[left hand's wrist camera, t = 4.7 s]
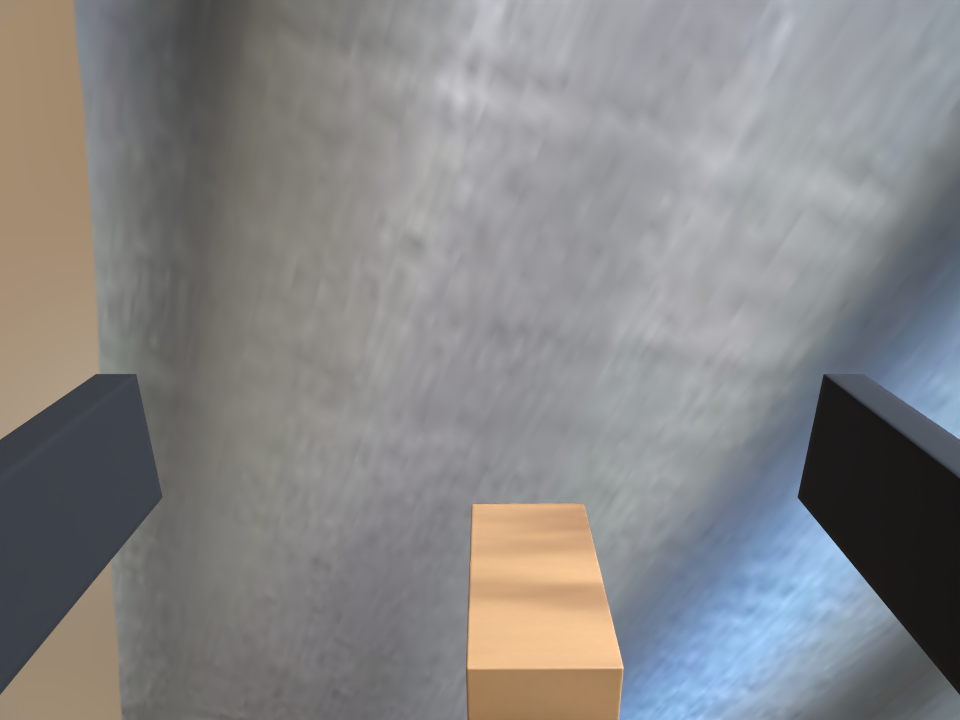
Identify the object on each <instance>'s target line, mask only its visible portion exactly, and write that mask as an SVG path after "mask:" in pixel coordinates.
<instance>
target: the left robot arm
mask: <svg viewBox="0 0 960 720" xmlns="http://www.w3.org/2000/svg"><path fill="white" fill-rule="evenodd" d="M161 498H162V494H161V489H160V484H159V479H158V475H157V470H156V465H155V460H154V456H153V451H152V446H151V442H150V437H149V432H148V427H147V423H146V418H145V413H144V409H143V404H142V399H141V394H140V390H139V385H138V380H137V376H136V374H96V375H94V376H93V377H91V378H90V379H88V380H87V381H85V382H84V383H83V384H81V385H80V386H78V387H77V388H75V389H74V390H72V391H71V392H69V393H68V394H67V395H65V396H64V397H62V398H61V399H59V400H58V401H56V402H55V403H53V404H52V405H50V406H49V407H47V408H46V409H45V410H43V411H42V412H40V413H39V414H37V415H36V416H34V417H33V418H31V419H30V420H29V421H27V422H26V423H24V424H23V425H21V426H20V427H18V428H17V429H15V430H14V431H12V432H11V433H10V434H8V435H7V436H5V437H4V438H2V439H1V440H0V694H1V693H2V692H3V691H4V689H5V688H6V687H7V686H8V684H9V683H10V682H11V681H12V680H13V678H14V677H15V676H16V675H17V674H18V672H19V671H20V670H21V669H22V667H23V666H24V665H25V664H26V663H27V661H28V660H29V659H30V658H31V656H32V655H33V654H34V653H35V652H36V650H37V649H38V648H39V647H40V646H41V644H42V643H43V642H44V641H45V640H46V638H47V637H48V636H49V635H50V633H51V632H52V631H53V630H54V629H55V627H56V626H57V625H58V624H59V622H60V621H61V620H62V619H63V618H64V616H65V615H66V614H67V613H68V612H69V610H70V609H71V608H72V607H73V605H74V604H75V603H76V602H77V601H78V599H79V598H80V597H81V596H82V594H83V593H84V592H85V591H86V590H87V588H88V587H89V586H90V585H91V583H92V582H93V581H94V580H95V579H96V577H97V576H98V575H99V574H100V573H101V571H102V570H103V569H104V568H105V567H106V565H107V564H108V563H109V562H110V560H111V559H112V558H113V557H114V556H115V554H116V553H117V552H118V551H119V550H120V548H121V547H122V546H123V545H124V543H125V542H126V541H127V540H128V539H129V537H130V536H131V535H132V534H133V533H134V531H135V530H136V529H137V528H138V526H139V525H140V524H141V523H142V522H143V520H144V519H145V518H146V517H147V516H148V514H149V513H150V512H151V511H152V509H153V508H154V507H155V506H156V505H157V503H158V502H159V501H160V500H161ZM798 498H799V500H800V501H801V502H802V503H803V505H804V506H805V507H806V508H807V509H808V511H809V512H810V513H811V514H812V516H813V517H814V518H815V519H816V520H817V522H818V523H819V524H820V525H821V526H822V528H823V529H824V530H825V531H826V533H827V534H828V535H829V536H830V537H831V539H832V540H833V541H834V542H835V543H836V545H837V546H838V547H839V548H840V550H841V551H842V552H843V553H844V554H845V556H846V557H847V558H848V559H849V560H850V562H851V563H852V564H853V565H854V567H855V568H856V569H857V570H858V571H859V573H860V574H861V575H862V576H863V578H864V579H865V580H866V581H867V582H868V584H869V585H870V586H871V587H872V588H873V590H874V591H875V592H876V593H877V595H878V596H879V597H880V598H881V599H882V601H883V602H884V603H885V604H886V605H887V607H888V608H889V609H890V610H891V612H892V613H893V614H894V615H895V616H896V618H897V619H898V620H899V621H900V622H901V624H902V625H903V626H904V627H905V629H906V630H907V631H908V632H909V633H910V635H911V636H912V637H913V638H914V640H915V641H916V642H917V643H918V644H919V646H920V647H921V648H922V649H923V650H924V652H925V653H926V654H927V655H928V657H929V658H930V659H931V660H932V661H933V663H934V664H935V665H936V666H937V667H938V669H939V670H940V671H941V672H942V674H943V675H944V676H945V677H946V678H947V680H948V681H949V682H950V683H951V685H952V686H953V687H954V688H955V689H956V691H957V692H958V693H959V694H960V440H959V439H958V438H956V437H955V436H953V435H952V434H950V433H949V432H948V431H946V430H945V429H943V428H942V427H940V426H939V425H937V424H936V423H934V422H933V421H931V420H930V419H929V418H927V417H926V416H924V415H923V414H921V413H920V412H918V411H917V410H915V409H914V408H913V407H911V406H910V405H908V404H907V403H905V402H904V401H902V400H901V399H899V398H898V397H896V396H895V395H894V394H892V393H891V392H889V391H888V390H886V389H885V388H883V387H882V386H880V385H879V384H877V383H876V382H875V381H873V380H872V379H870V378H869V377H867V376H866V375H864V374H824V376H823V380H822V385H821V390H820V394H819V399H818V404H817V409H816V413H815V418H814V423H813V427H812V432H811V437H810V442H809V446H808V451H807V456H806V460H805V465H804V470H803V475H802V479H801V484H800V489H799V494H798Z"/></svg>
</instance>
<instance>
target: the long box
mask: <svg viewBox="0 0 960 720" xmlns="http://www.w3.org/2000/svg"><path fill="white" fill-rule="evenodd" d="M623 669H624V667H623V663H622V659H621V655H620V651H619V647H618V643H617V639H616V634H615V630H614V626H613V622H612V618H611V614H610V610H609V605H608V601H607V597H606V593H605V589H604V585H603V581H602V577H601V572H600V568H599V564H598V560H597V556H596V552H595V548H594V543H593V539H592V535H591V531H590V527H589V523H588V519H587V515H586V510H585V506H584V504H583V503H578V504H472V514H471V542H470V571H469V599H468V628H467V656H466V683H467V717H468V720H619V711H620V700H621V690H622V679H623Z"/></svg>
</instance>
